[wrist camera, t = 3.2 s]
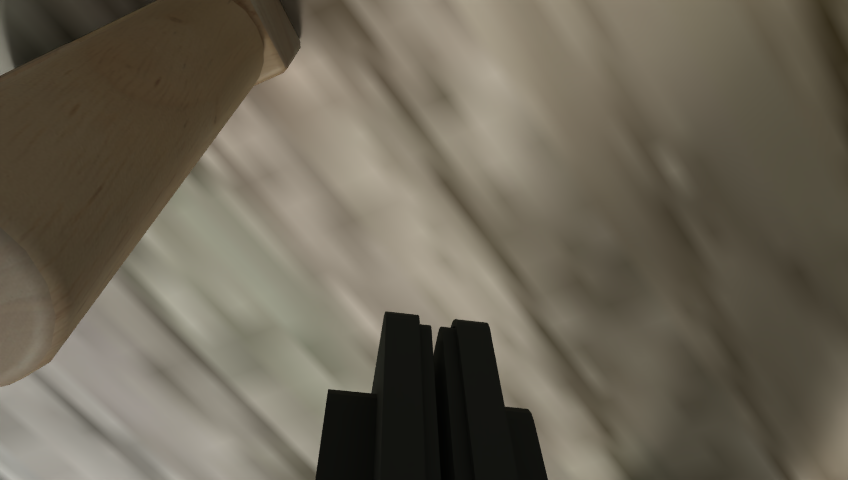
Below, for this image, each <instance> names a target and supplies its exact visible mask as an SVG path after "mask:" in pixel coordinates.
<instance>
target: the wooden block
mask: <svg viewBox="0 0 848 480" xmlns="http://www.w3.org/2000/svg"><path fill="white" fill-rule="evenodd" d="M299 49H300V40H299V38H298V36H297V34H296V32H295V30H294V28H293V26H292V24H291V22H290V20H289V18H288V16H287V14H286V13H285V11H284V9H283V7H282V5H281V3H280V1H279V0H157V1H155V2H153V3H150V4H148V5H146V6H144V7H142V8H140V9H138V10H136V11H134V12H132V13H130V14H128V15H126V16H124V17H122V18H120V19H118V20H116V21H113V22H111V23H109V24H107V25H105V26H103V27H101V28H99V29H97V30H95V31H93V32H91V33H89V34H87V35H85V36H83V37H81V38H79V39H76V40H74V41H72V42H70V43H67V44H65V45H62V46H60V47H58V48H56V49H54V50H52V51H50V52H48V53H46V54H44V55H42V56H40V57H38V58H36V59H34V60H32V61H30V62H28V63H26V64H23V65H21V66H19V67H17V68H15V69H13V70H11V71H9V72H7V73H5V74H3V75H1V76H0V387H1V386H6V385H10V384H12V383H14V382H16V381H18V380H20V379H22V378H24V377H26V376H28V375H29V374H31V373H33V372H34V371H36V370H38V369H39V368H41V367H43V366H44V365H46V364H48V363H49V362H51V360H52V359H53V357H54V356H55V355H56V353H57V352H58V351H59V349H60V348H61V347H62V345H63V344H64V343H65V341H66V340H67V338H68V337H69V336H70V334H71V333H72V332H73V330H74V329H75V328H76V326H77V325H78V324H79V322H80V321H81V319H82V318H83V317H84V315H85V314H86V313H87V311H88V310H89V309H90V307H91V306H92V305H93V303H94V302H95V300H96V299H97V298H98V296H99V295H100V294H101V292H102V291H103V290H104V288H105V287H106V285H107V284H108V283H109V281H110V280H111V279H112V277H113V276H114V275H115V273H116V272H117V271H118V269H119V268H120V266H121V265H122V264H123V262H124V261H125V260H126V258H127V257H128V256H129V254H130V253H131V252H132V250H133V249H134V247H135V246H136V245H137V243H138V242H139V241H140V239H141V238H142V237H143V235H144V234H145V233H146V231H147V230H148V228H149V227H150V226H151V224H152V223H153V222H154V220H155V219H156V218H157V216H158V215H159V214H160V212H161V211H162V209H163V208H164V207H165V205H166V204H167V203H168V201H169V200H170V199H171V197H172V196H173V195H174V193H175V192H176V190H177V189H178V188H179V186H180V185H181V184H182V182H183V181H184V180H185V178H186V177H187V176H188V174H189V173H190V171H191V170H192V169H193V167H194V166H195V165H196V163H197V162H198V161H199V159H200V158H201V157H202V155H203V154H204V152H205V151H206V150H207V148H208V147H209V146H210V144H211V143H212V142H213V140H214V139H215V138H216V136H217V135H218V133H219V132H220V131H221V129H222V128H223V127H224V125H225V124H226V123H227V121H228V120H229V119H230V117H231V116H232V114H233V113H234V112H235V110H236V109H237V108H238V106H239V105H240V104H241V102H242V101H243V100H244V98H245V97H246V95H247V94H248V93H249V91H250V90H251V89H252V87H253V86H255V85H257V84H259V83H261V82H264V81H266V80H268V79H270V78H273V77H275V76H277V75H279V74H282V73H284V71H285V70H286V69H287V68H288V67H289V65H290V63H291V62H292V60H293V59H294V57H295V55H296V54H297V52H298V51H299Z"/></svg>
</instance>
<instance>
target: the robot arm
mask: <svg viewBox="0 0 848 480" xmlns="http://www.w3.org/2000/svg"><path fill="white" fill-rule="evenodd" d="M316 480H548V478H547V474H546V470H545V466H544V461H543V457H542V453H541V449H540V445H539V440H538V436H537V432H536V428H535V423H534V420H533V417H532V414H531V412H530V411H529V410H528V409H522V408H512V407H505V406H504V401H503V395H502V390H501V385H500V380H499V374H498V369H497V364H496V358H495V353H494V348H493V343H492V337H491V332H490V327H489V324H488V323H484V322H475V321H466V320H457V319H455V320H453V322H452V325H451V328H448V327H440V329H439V332H438V336H437V341H436V345H435V350H434V355H433V345H432V330H431V326H430V325H421V324H420V321H419V315H413V314H404V313H395V312H385V314H384V319H383V325H382V331H381V338H380V344H379V350H378V356H377V362H376V368H375V375H374V381H373V387H372V393H361V392H351V391H341V390H330V389H328V394H327V401H326V408H325V416H324V423H323V430H322V437H321V444H320V451H319V458H318V465H317V472H316Z"/></svg>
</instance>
